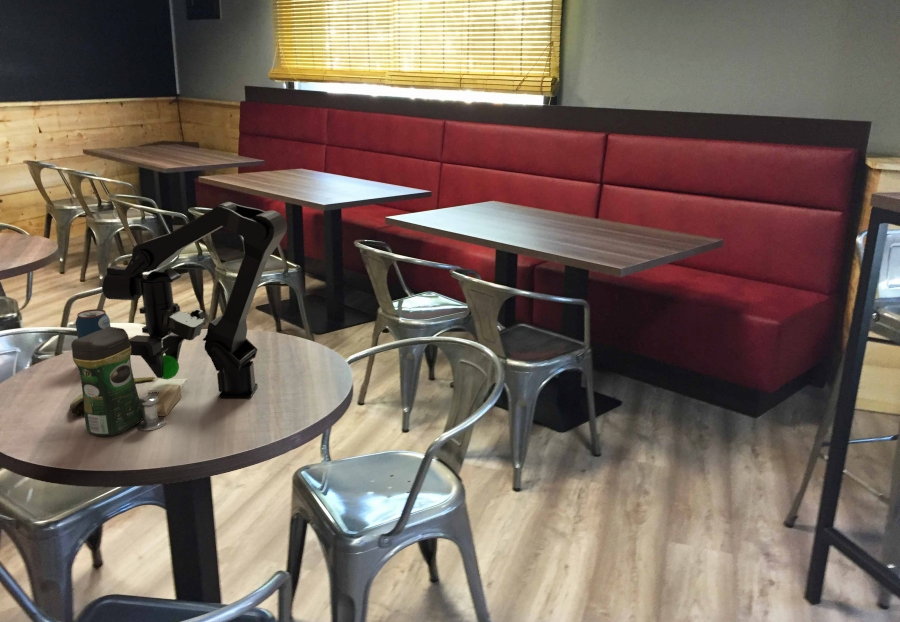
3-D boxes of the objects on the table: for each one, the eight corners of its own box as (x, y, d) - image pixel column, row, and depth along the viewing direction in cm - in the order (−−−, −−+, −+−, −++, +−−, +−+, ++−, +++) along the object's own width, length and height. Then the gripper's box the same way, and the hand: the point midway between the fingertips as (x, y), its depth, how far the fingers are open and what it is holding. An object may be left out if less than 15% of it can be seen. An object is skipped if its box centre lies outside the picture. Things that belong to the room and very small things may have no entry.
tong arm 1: (174, 396, 150) (173, 384, 150) (153, 420, 140) (152, 407, 139) (167, 396, 150) (166, 384, 150) (146, 420, 140) (144, 407, 139)
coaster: (187, 381, 158) (186, 378, 158) (177, 392, 153) (177, 389, 153) (159, 381, 158) (158, 378, 158) (148, 392, 153) (148, 390, 152)
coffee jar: (119, 412, 143) (103, 321, 138) (151, 418, 140) (136, 325, 135) (78, 434, 135) (59, 337, 129) (110, 441, 132) (93, 342, 126)
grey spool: (168, 419, 141) (165, 394, 139) (159, 430, 136) (156, 404, 135) (143, 419, 141) (139, 394, 139) (133, 430, 136) (129, 404, 135)
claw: (105, 420, 141) (103, 404, 140) (54, 419, 142) (51, 402, 141) (154, 382, 160) (152, 367, 159) (109, 381, 161) (107, 366, 160)
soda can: (121, 361, 169) (114, 311, 166) (93, 371, 164) (85, 319, 160) (103, 355, 173) (96, 306, 170) (75, 364, 168) (67, 314, 164)
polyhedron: (159, 374, 157) (156, 352, 156) (182, 373, 157) (180, 352, 156) (151, 382, 152) (148, 360, 151) (175, 382, 153) (173, 360, 151)
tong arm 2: (181, 396, 150) (180, 384, 150) (162, 420, 140) (160, 407, 139) (174, 396, 150) (172, 384, 150) (154, 420, 140) (152, 407, 139)
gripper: (170, 317, 140) (179, 393, 144) (217, 290, 157) (223, 359, 162) (116, 314, 142) (127, 389, 146) (168, 288, 159) (176, 356, 164)
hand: (167, 372), depth 155 cm, fingers closed on polyhedron, 5 cm apart
